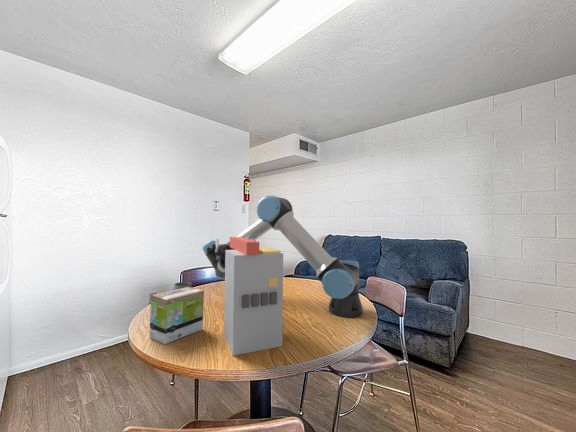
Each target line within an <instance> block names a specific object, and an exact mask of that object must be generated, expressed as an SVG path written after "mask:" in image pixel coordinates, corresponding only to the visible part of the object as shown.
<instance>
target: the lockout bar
mask: <svg viewBox="0 0 576 432" xmlns="http://www.w3.org/2000/svg"><path fill="white" fill-rule="evenodd" d="M229 241H230V247H231V248H233V249H235V250H237V251H239V252H241V253H243V254H245V255H247V256H248V255H259V247H260V241H257V240H255V241H253V240H250V239H246V238H242V237H236V236H230V237H229Z"/></svg>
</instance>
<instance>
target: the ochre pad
mask: <svg viewBox="0 0 576 432" xmlns="http://www.w3.org/2000/svg"><path fill="white" fill-rule="evenodd" d="M259 253H261V254H281V253H282V252H281V250H277V249H275V248H271V247H267V246H259Z"/></svg>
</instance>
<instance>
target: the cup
mask: <svg viewBox="0 0 576 432" xmlns="http://www.w3.org/2000/svg"><path fill="white" fill-rule="evenodd" d="M186 287H190V288H193V286H192V282H190V281H183V282H182V281H181V282H175V283H174V284H173V290H177V289H181V288H186Z"/></svg>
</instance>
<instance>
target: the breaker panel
mask: <svg viewBox="0 0 576 432" xmlns="http://www.w3.org/2000/svg"><path fill="white" fill-rule="evenodd" d="M223 308H224V313H223V315H224V317H223V320H224V322H223V334H224V338H225V340H226V343H227V345H228V347H229V350H230V353H231V356H234V357H235V356H239V355H244V354H249V353H255V352H260V351H266V350H269V349H270V350H271V349H274V348H280V347H283V327H284V326H283V317H284V316H283V309H284V252H283V253H282V252H281V254H261V253H259V255H248V256H247V255H245V254H243V253H241V252H239V251H237V250H225V279H224V307H223Z"/></svg>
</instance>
